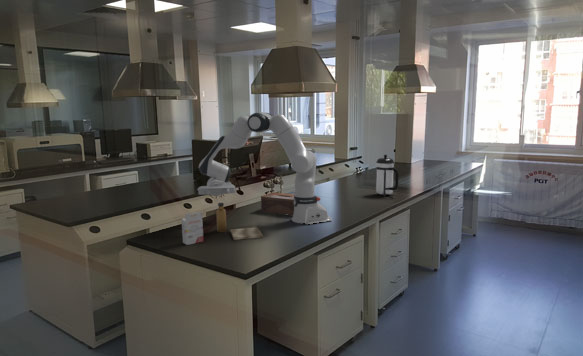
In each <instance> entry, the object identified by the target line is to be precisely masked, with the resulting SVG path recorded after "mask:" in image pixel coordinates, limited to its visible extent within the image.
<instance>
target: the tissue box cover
mask: <svg viewBox="0 0 583 356" xmlns="http://www.w3.org/2000/svg"><path fill="white" fill-rule="evenodd" d="M294 196H295V193H282V192H274V191H272V192H269V193H267V194H264V195H262V196H261V195H260V211H261V213H267V212H271V213H270V214H275V213H280V214H279V215H283V214H288V215H287V216H291V215H293V213H294Z"/></svg>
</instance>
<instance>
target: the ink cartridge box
mask: <svg viewBox="0 0 583 356" xmlns="http://www.w3.org/2000/svg"><path fill="white" fill-rule="evenodd" d="M203 227H204V225H203V215H202V211H195V212H191V213H184V217H183V218H181V233H182V244H185V246H189V245H194V244H198V243H203V242H204V228H203Z"/></svg>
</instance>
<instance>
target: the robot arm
mask: <svg viewBox="0 0 583 356" xmlns="http://www.w3.org/2000/svg"><path fill="white" fill-rule="evenodd" d="M268 131H270V132H272V133H273V134H274V135H275V138H276V140H278V142H279V144H281V147H282V148H283V150H284V151H285V154H286V156H287V159H288V160H289V162H290V164H291V168H292V169H293V171H294V172H296V173H295V179H294V194H295V196H294V213H293V216H292V217H291V218H292V219H291V221H292V222H294V223H295V224H303V223H305V225H308V224H310V225H314V224H313V223H317V224H320V223H319V222H324V223H327V222H326V221H331V220H332V221H333V219H332V216H330V215H329V213H328V210H327V209H326V207H325V206H323V204H321V203H320V201H321V197H320V196H316V195H315V181H316V180H315V179H316V171H317V170H316V169H317V156H316V155H315V153H314V152H312V151H310V150H307V148H306V147H305V145H304V143H303V140H302V137H301V136H300V135H299V133H298V132H297V130H296V129H295V127H294V126H293V124H292V123H291V121H290V120H289V119H288V118H287V117H286V116H285V115H284V114H282V113H276V114H274V115H272V114H271V113H269V112H262V111H260V112H254V113H252V114H250V115H249V116H248V115H240V116H239V117H238V118H237V119H236V121H235V122H234V124H233V125H232V127H231V129H230V130H229V132H228V133H227V134H226V135H221V136H220V137H219V138H218V140H217V141H216V142H215V143H214V145H213V146H212V147H211V149H210V150H209V151H208V153H207V154H206V155H205V156H204V158H203V159H202V160H201V161H200V162H199V164H198V171H199V172H200V174H201V175H205V176H208V177H209V179H208V180H207V183H206V185H202V186H199V187H198V188H197V189H196V191H198V195H200V196H201V195H202V196H203V195H207V196H209V195H211V196H213V197H219V196H223V195H227V194H235V193H236V186H235V185H234V184H232V182H231V181H229V180H230V177H231V168H230V167H229V166H228V165H226V164H224V163H221V162H218V161H216V160H214V159H215V158H216V156H217V154H218V153H219V152H220V151H221V150H223V149H233V150H238V149H241V148H243V147H244V146H245V145H246V144H247V142H248V141H249V139H250V136H251V135H252V133H266V132H268ZM332 221H331V222H332Z"/></svg>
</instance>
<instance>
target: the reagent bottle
mask: <svg viewBox="0 0 583 356" xmlns="http://www.w3.org/2000/svg"><path fill="white" fill-rule="evenodd" d="M224 204H225V203H224V202H218V203H217V207H218V209H216V210H215V211H216V212H215V213H216V232H217V233H224V232H227V210H226V209H225V208H224Z"/></svg>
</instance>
